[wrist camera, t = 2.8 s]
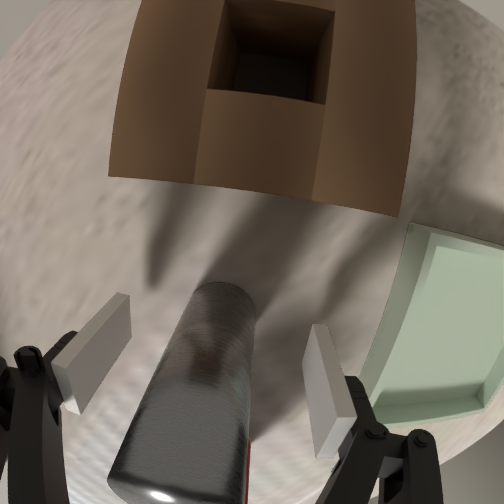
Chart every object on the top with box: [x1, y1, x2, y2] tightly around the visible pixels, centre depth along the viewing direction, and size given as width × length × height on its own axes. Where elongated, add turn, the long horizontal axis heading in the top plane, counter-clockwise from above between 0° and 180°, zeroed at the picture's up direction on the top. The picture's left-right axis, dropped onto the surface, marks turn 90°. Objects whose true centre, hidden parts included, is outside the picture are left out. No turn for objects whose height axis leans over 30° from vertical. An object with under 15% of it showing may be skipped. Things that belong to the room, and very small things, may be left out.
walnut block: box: [108, 0, 417, 217], centre depth 10 cm, size 8×8×8 cm
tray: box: [358, 222, 504, 429], centre depth 16 cm, size 14×14×2 cm
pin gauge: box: [107, 282, 255, 504], centre depth 12 cm, size 4×4×12 cm
